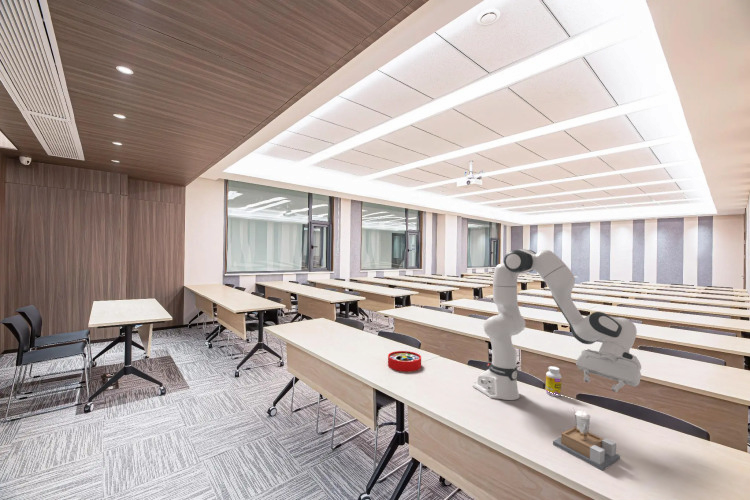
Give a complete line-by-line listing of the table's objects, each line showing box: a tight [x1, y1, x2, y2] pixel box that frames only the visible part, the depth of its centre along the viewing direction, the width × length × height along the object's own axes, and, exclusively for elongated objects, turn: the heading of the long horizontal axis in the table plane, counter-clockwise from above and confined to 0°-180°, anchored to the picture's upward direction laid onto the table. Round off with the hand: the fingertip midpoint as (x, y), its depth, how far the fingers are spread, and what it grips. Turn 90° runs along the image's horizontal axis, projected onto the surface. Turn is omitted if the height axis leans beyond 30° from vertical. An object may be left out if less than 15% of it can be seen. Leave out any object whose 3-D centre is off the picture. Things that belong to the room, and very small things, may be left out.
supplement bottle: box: [545, 365, 563, 397], centre depth 159 cm, size 7×7×13 cm
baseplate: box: [552, 425, 621, 472], centre depth 113 cm, size 16×12×5 cm
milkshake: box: [572, 407, 591, 440], centre depth 114 cm, size 5×5×10 cm
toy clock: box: [387, 350, 422, 373], centre depth 195 cm, size 20×6×20 cm
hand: (599, 385), depth 120 cm, fingers open, 8 cm apart
